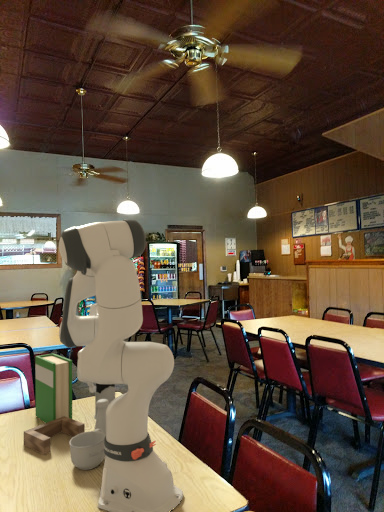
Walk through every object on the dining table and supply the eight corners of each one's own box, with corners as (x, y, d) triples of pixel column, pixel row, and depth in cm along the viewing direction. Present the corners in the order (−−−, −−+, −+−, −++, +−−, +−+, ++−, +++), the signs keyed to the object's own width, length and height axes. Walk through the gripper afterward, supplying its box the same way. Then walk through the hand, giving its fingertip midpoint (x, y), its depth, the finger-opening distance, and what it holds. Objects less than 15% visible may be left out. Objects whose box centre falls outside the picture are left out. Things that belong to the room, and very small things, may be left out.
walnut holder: (84, 436, 131) (84, 423, 132) (43, 455, 119) (43, 440, 119) (64, 428, 139) (64, 416, 139) (23, 445, 126) (23, 431, 126)
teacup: (93, 476, 106) (93, 448, 106) (61, 470, 109) (61, 443, 109) (118, 453, 119) (118, 428, 119) (89, 449, 122) (89, 424, 123)
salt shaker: (106, 442, 127) (106, 403, 127) (91, 440, 128) (91, 402, 129) (113, 434, 133) (113, 397, 133) (98, 433, 134) (98, 396, 134)
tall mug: (101, 422, 144) (100, 383, 144) (84, 412, 154) (83, 375, 155) (120, 416, 149) (120, 378, 150) (103, 407, 160) (102, 371, 160)
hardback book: (72, 423, 144) (71, 360, 144) (53, 428, 138) (53, 363, 139) (53, 410, 156) (53, 353, 157) (35, 415, 151) (35, 356, 152)
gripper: (114, 341, 142) (115, 378, 142) (73, 353, 124) (74, 395, 124) (127, 343, 139) (128, 380, 139) (87, 355, 121) (88, 398, 121)
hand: (102, 387), depth 131 cm, fingers open, 8 cm apart
